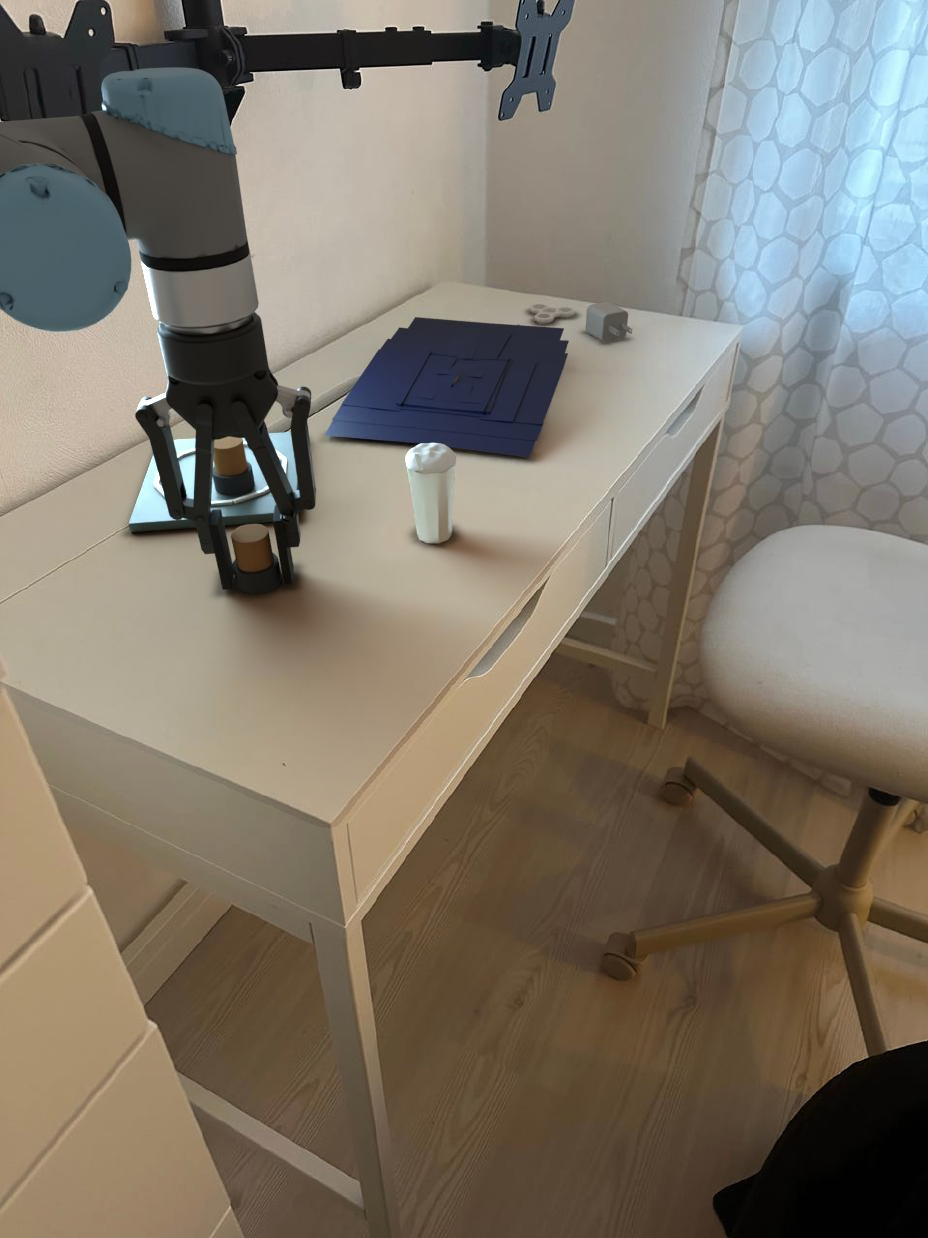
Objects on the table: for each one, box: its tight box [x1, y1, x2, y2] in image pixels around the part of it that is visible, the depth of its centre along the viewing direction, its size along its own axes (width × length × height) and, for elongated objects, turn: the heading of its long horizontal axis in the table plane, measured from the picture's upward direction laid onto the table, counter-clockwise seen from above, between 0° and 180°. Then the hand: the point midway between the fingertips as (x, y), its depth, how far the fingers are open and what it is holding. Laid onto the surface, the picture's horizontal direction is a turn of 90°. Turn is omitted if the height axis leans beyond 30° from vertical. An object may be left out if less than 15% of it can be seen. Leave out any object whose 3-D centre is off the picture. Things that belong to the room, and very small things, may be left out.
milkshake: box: [404, 443, 457, 544], centre depth 82 cm, size 4×5×10 cm
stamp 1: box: [213, 437, 255, 496], centre depth 90 cm, size 4×4×5 cm
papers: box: [324, 316, 570, 458], centre depth 110 cm, size 24×30×4 cm
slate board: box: [128, 431, 299, 533], centre depth 94 cm, size 16×18×1 cm
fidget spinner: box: [528, 303, 576, 324], centre depth 132 cm, size 7×6×1 cm
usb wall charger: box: [585, 301, 633, 344], centre depth 124 cm, size 4×7×4 cm, turn 25°
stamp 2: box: [230, 523, 282, 595], centre depth 78 cm, size 4×4×5 cm
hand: (258, 577), depth 80 cm, fingers open, 5 cm apart
